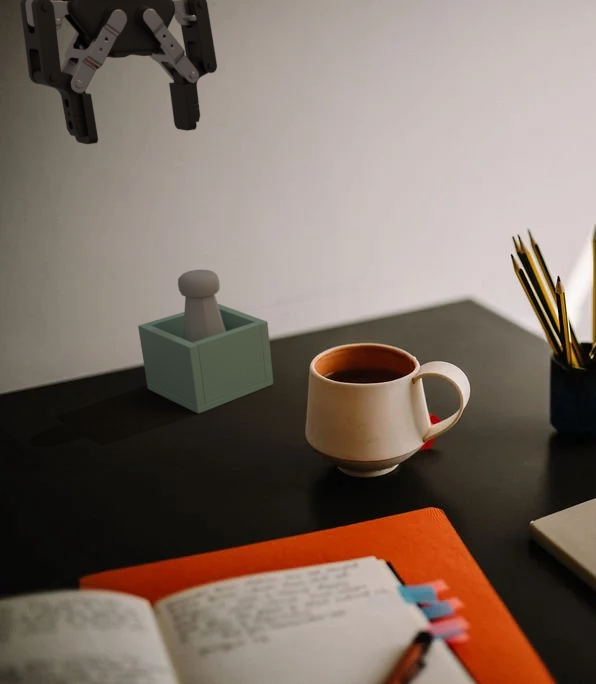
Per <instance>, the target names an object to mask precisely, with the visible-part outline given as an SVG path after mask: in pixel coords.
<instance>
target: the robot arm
mask: <svg viewBox="0 0 596 684" xmlns="http://www.w3.org/2000/svg"><path fill="white" fill-rule="evenodd" d="M19 6H20V12H21V21H22V31H23V37H24V45H25V53H26V61H27V71H28V77H29V79H30V81H31V82H32V83H34V84H37V85H41V86H46V87H49V88H53V89H55V90H56V91H58V92H59V94H60V98H61V102H62V109H63V112H64V113H63V114H64V119H65V125H66V130H67V131H68V133H69V136H72V137H74V138H75V141H76V142H77V143H80V144H84V145H93V144H98V142H99V136H98V129H97V123H96V117H95V110H94V104H93V98H92V94H91V93H88V92H86V91H87V89H88V87H89V86H90V83H91V81H92V79H93V78H94V76H95V73H96V72H97V70H99V69H100V68H102V66H103V65H104V63H105V61H106V59H107V58H111V59H112V58H113V59H121V58H126V57H129V56H138V57H139V56H140V57H150V58H151V59H152V60H153V61H155V62H156V63H157V64H158V65H160V67H161V68H162V69H163V70H164V71H165V73H166V74H167V75H168V77H169V78H170V79H171V80H172V81H173V82H168V86H169V93H170V101H171V109H172V110H171V111H172V117H173V124H174V127H175V128H176V129H177V130H180V131H186V132H187V131H195V130H197V126H198V124H197V123H199V122H200V118H201V112H200V111H201V109H200V103H199V100H200V99H199V93H198V81H199V80H200V78H202V77H204V76H205V75H207V74H213V73H215V72H216V71H217V68H218V63H217V57H216V50H215V49H216V48H215V43H214V38H213V31H212V24H211V19H210V13H209V6H208V1H207V0H21V1H20V5H19ZM173 18H174V19H175V21H176V22H177V24H179V25H180V28H181V35H182V41H183V46H184V48H183V46H182V45H181V44H180V42H179V41H178V40H177V39H176V38H175V36H174V35H173V34H172V33H171V31H170V30H169V27H170V24H171V23H172V21H173ZM63 19H65V20H66V21H67V22H68V23H69V25H70V26H71V27H72V28H73V29H74V30H75V31H76V32H75V34H74V36H73V37H72V39H71V42H70V43H69V45H68V46H67V49H66V51H65V54H64V57H65V59H64V61H63V63H62V65H61V58H60V49H59V40H58V33H57V32H58V31H59V30H60V29H61V27H62V23H63Z"/></svg>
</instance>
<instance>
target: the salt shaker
mask: <svg viewBox="0 0 596 684" xmlns="http://www.w3.org/2000/svg"><path fill="white" fill-rule="evenodd" d="M177 287H178V291H179V293H180V294H181V296H183V297H185V298H184V301H185V302H184V311H183V312H184V327H183V339H185V340H187V341H189V342H192V343H193V342H196V341H199V340H202V339H205V338H208V337H211V336H214V335H217V334H220V333H223V332H226V330H225V327H224V324H223V320H222V317H221V313H220V310H219V307H218V304H219V303H218V300H217V297H216V294H218V292H219V291H220V289H221V284H220V280H219V277H218V274H217V273H216V272H214V270H210V269H194V270H189V271H186V272H183V273H182V274H180V276H179V277H178V278H177Z"/></svg>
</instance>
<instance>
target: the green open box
mask: <svg viewBox="0 0 596 684" xmlns="http://www.w3.org/2000/svg"><path fill="white" fill-rule="evenodd" d="M218 307H219V310H220V313H221V317H222V320H223V324H224V327H225V330H226V332H223V333H220V334H217V335H214V336H211V337H208V338H205V339H202V340H199V341H196V342H193V343H192V342H189V341H187V340H185V339H183V327H184V312H185V311H182V312H179V313H176V314H172V315H169V316H165V317H162V318H158V319H155V320H152V321H149V322H146V323H142V324H138V325H137V328H138V333H139V341H140V347H141V354H142V360H143V368H144V373H145V379H146V380H145V381H146V386H147V390H150V391H151V392H153V393H155V394H157V395H160V396H162V397H164V398H166V399H168V400H169V401H171V402H174V403H176V404H178V405H180V406H181V407H184V408H186V409H188V410H190V411H192V412H194V413H196V414H199V415H200V414H201V413H205V412H207V411H209V410H212V409H215V408H217V407H219V406H222V405H224V404H227V403H230V402H232V401H234V400H238V399H239V398H242V397H244V396H247V395H250V394H253V393H255V392H257V391H261V390H262V389H265V388H267V387H271V386H273V385H274V375H273V374H274V373H273V365H272V356H271V355H272V354H271V353H272V352H271V344H270V333H269V321H267V320H263V319H262V318H258V317H256V316H253V315H250V314H247V313H245V312H242V311H240V310H237V309H234V308H231V307H228V306H226V305H223V304H220V303H218Z"/></svg>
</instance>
